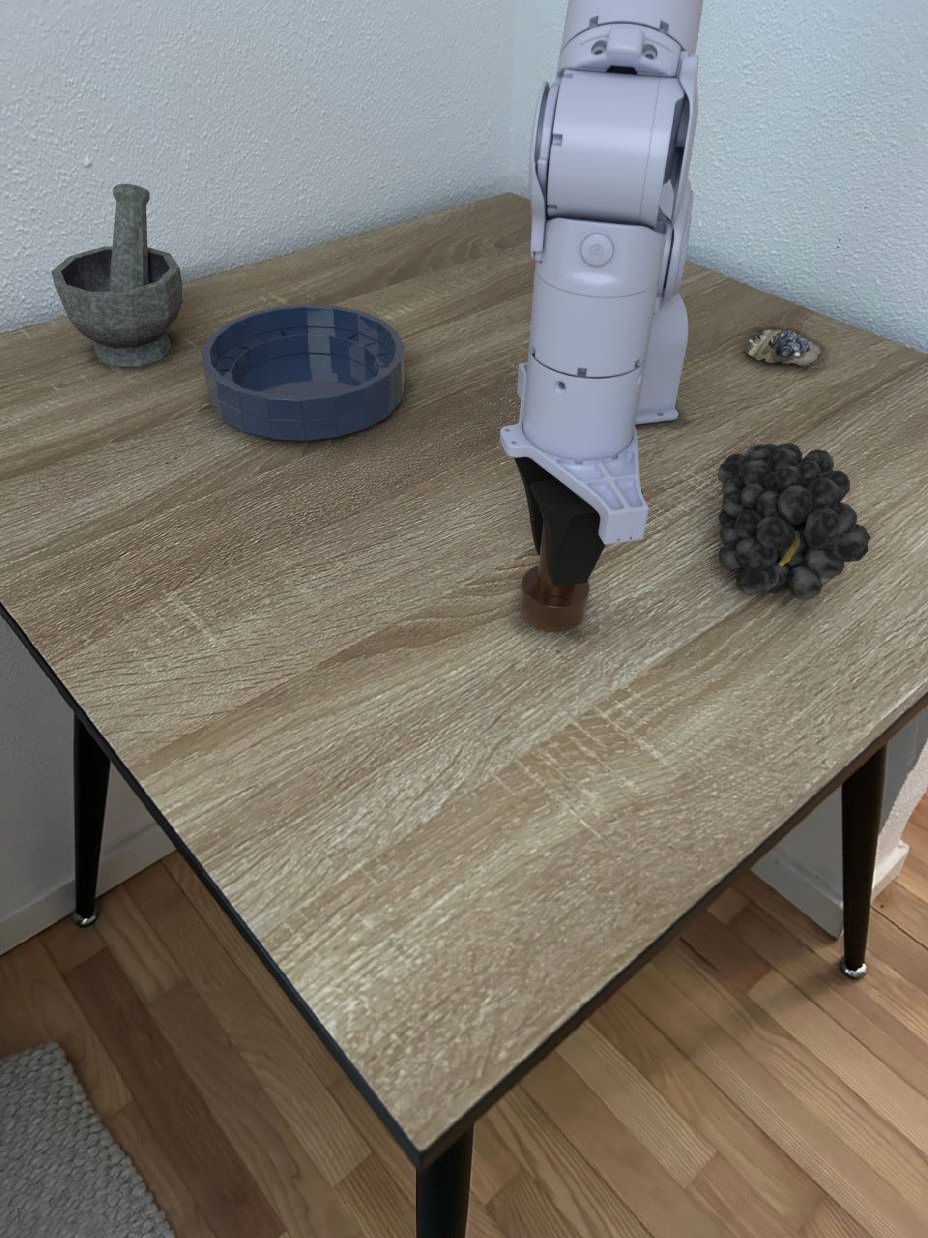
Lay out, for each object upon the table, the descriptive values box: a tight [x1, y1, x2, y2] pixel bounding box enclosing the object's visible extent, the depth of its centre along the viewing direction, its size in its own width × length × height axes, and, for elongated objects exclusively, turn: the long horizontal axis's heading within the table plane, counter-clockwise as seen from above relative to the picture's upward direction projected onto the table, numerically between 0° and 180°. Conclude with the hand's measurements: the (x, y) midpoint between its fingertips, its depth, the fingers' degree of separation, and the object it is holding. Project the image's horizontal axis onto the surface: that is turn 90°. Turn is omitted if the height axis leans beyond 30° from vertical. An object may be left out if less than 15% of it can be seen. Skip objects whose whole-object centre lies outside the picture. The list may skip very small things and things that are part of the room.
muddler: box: [519, 477, 590, 633], centre depth 56 cm, size 4×4×9 cm
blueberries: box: [743, 328, 822, 367], centre depth 84 cm, size 7×8×2 cm
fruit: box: [717, 442, 871, 601], centre depth 62 cm, size 9×8×15 cm
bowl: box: [201, 303, 406, 442], centre depth 76 cm, size 15×15×4 cm
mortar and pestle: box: [51, 183, 183, 368], centre depth 79 cm, size 11×9×12 cm
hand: (561, 565), depth 57 cm, fingers closed on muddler, 2 cm apart
